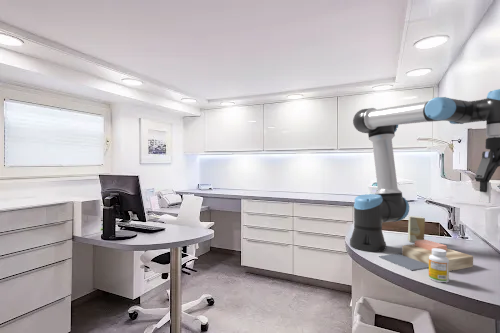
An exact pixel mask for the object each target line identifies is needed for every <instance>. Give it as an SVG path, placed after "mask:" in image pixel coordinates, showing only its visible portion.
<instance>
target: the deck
mask: <svg viewBox="0 0 500 333" xmlns="http://www.w3.org/2000/svg"><path fill="white" fill-rule="evenodd" d="M401 250H402V254H401V255H404V256H406V257H409V258H412V259H415V260H417V261H420V262H423V263H426V264H428V265H429V256H430V255H432V251H431V250H427V249H424V248H421V247H418V246H415V243H414V244H413V243H412V244H405V245H402V249H401ZM446 253H447V255H446V257H447V258H448V259H449V272H452V270H453V271H458V270H463V269H469V268H473V267H474V255H471V254H468V253H465V252H460V251H457V250H453V249H451V248H447V251H446Z"/></svg>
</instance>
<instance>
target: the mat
mask: <svg viewBox="0 0 500 333" xmlns="http://www.w3.org/2000/svg"><path fill="white" fill-rule="evenodd" d="M378 257H379V258H381V259H383V260H385V261H388V262H390V263H391V264H395V265H397V264H398V266H400V267H402V268H404V267H405V269H407V270H409V269H410V271H412V270H414V271H417V270H419V271H420V270H423V269H424V270H425V269H429V265H428V264H426V263H423V262H420V261H417V260H415V259H412V258H409V257H406V256H404V255H402V254H400V253H393V254H386V255H380V256H378Z"/></svg>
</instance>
